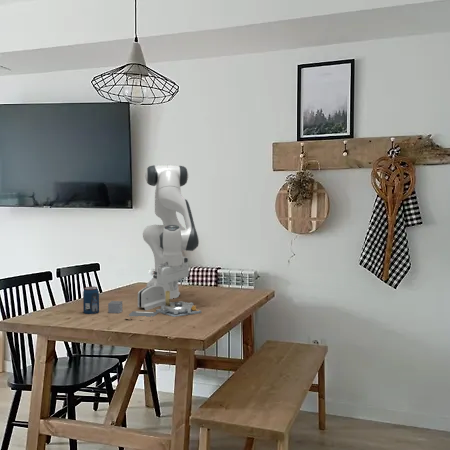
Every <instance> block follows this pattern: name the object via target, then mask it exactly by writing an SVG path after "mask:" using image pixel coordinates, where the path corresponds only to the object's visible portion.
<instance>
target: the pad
mask: <svg viewBox="0 0 450 450" xmlns="http://www.w3.org/2000/svg"><path fill="white" fill-rule="evenodd" d="M158 314H159V312H156V311H137V310H133V311H131V312H130V313H129V314H128V315H129V316H128V317H138V316H146V317H148V318H154V317H155V316H157V315H158ZM151 316H152V317H151ZM146 317H145V318H146Z"/></svg>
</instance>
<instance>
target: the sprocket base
mask: <svg viewBox="0 0 450 450" xmlns="http://www.w3.org/2000/svg"><path fill="white" fill-rule="evenodd" d="M155 312H158V314H162V315H167V316H169V317H172V318H177V317H182V316H183V317H184V316H190V315H197V314H202V310H200V309H197V308H196V310H192V311H191V313H178V314H174V313H168V312H167V313H164V312H163V310H161V308H157V309H155Z"/></svg>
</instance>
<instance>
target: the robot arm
mask: <svg viewBox="0 0 450 450" xmlns="http://www.w3.org/2000/svg"><path fill="white" fill-rule="evenodd" d="M144 177H145V181H146V184H148V185H149V186H152V187H155V191H154V214H155V216H156V217H158V218H159V219H160V220H161V221H162V224H150V225H147V226H146V227H145V228H144V229H143V231H142V238H143V241H144V242H145V243H146V244H147V245H148V246H149V248H150V249H151V251H152V254H153V257H154V271H152V274H153V275H152V278H151V279H150V280H149V281H148V282H147V283H146V286H145V288H146V287H149V286H160V287H163V288H164V293H165V291H170V300H173V298H174V299H177V298H179V296H180V295H181V292H180V291H179V290H180V289H179V280H181V279H185V278H187V277H189V275H190V268H189V266H190V264H189V261H190V258H189V257H187V256H183V252H182V251H186V252H187V251H188V252H193V251H195V250H196V249H197V248H198V247H199V244H200V239H199V235H198V232H197V228H196V226H195V222H194V218H193V213H192V210H191V207H190V203H189V201H188V199H186V198H184V197H183V194H182V191H181V187H183V186H185V185H186V184H187V183H188V179H189V172H188V169H187V167H185V166H184V165H176V164H165V165H164V164H163V165H161V164H160V165H154V164H153V165H149V166H148V167H147V168H146V170H145V173H144ZM177 213H179V214H180V215H182V217H183V219H184V220H183V221H184V224H185V227H183V225H182V224H181V222H180V221H179V219H178V215H177Z"/></svg>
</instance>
